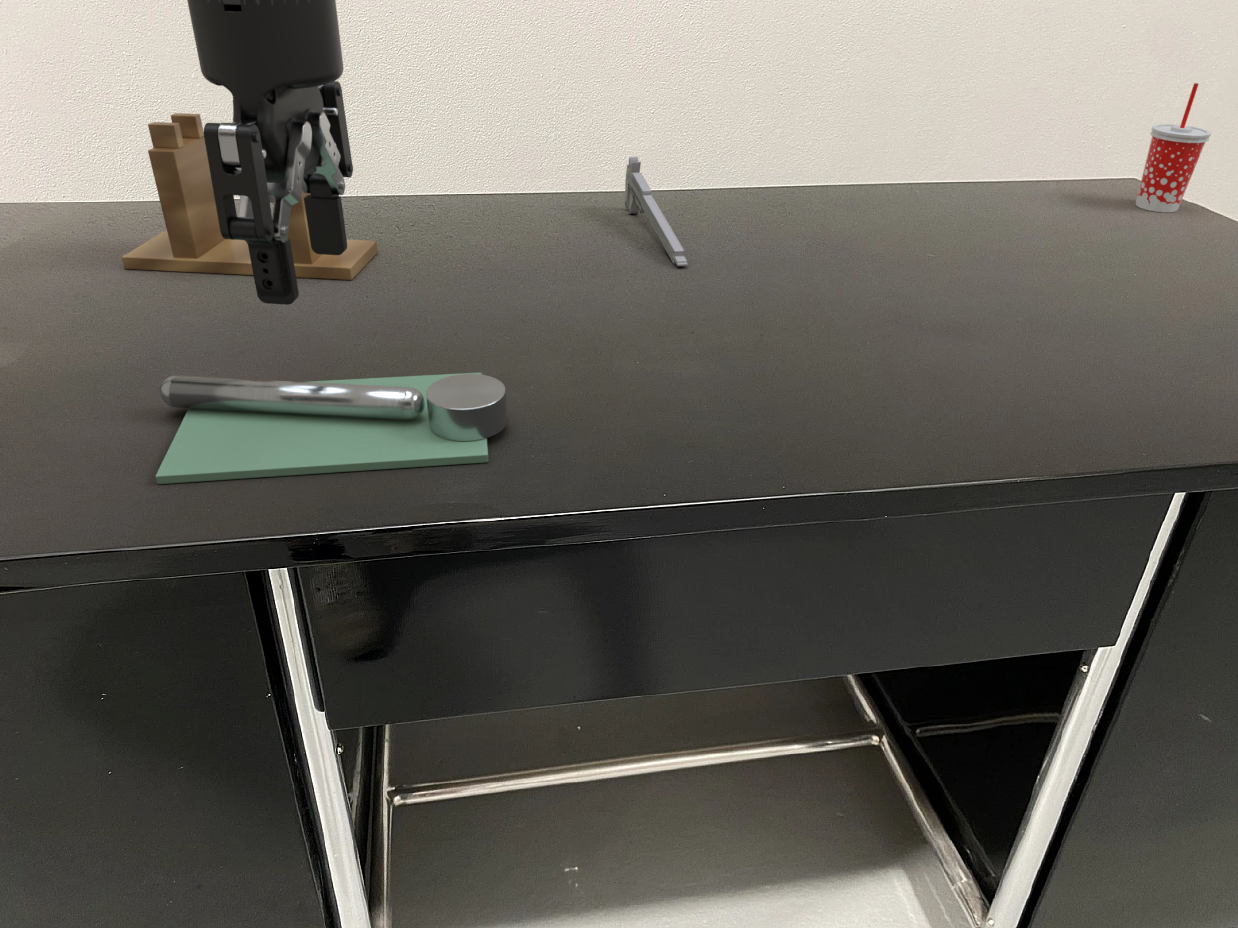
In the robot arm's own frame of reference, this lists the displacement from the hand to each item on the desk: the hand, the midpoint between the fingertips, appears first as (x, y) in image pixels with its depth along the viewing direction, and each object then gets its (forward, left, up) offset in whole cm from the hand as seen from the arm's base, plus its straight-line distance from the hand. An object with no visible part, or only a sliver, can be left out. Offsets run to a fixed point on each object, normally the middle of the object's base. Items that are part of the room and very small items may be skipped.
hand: (306, 276), depth 58 cm
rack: (-18, +30, -10) cm, 37 cm away
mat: (+1, -1, -10) cm, 10 cm away
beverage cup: (+80, +63, -11) cm, 102 cm away
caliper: (+20, +43, -11) cm, 49 cm away
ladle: (0, 0, -10) cm, 10 cm away
